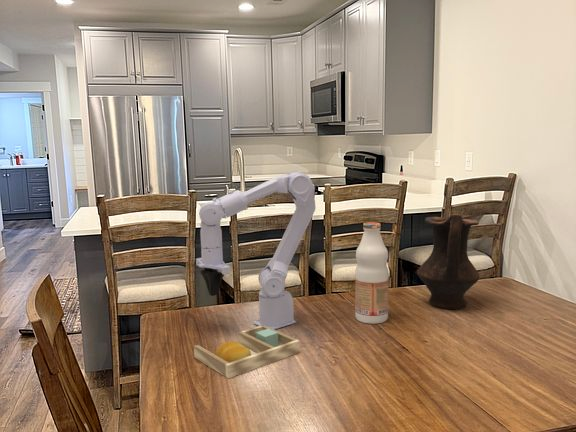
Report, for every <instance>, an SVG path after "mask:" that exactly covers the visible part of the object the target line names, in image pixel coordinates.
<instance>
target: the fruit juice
mask: <svg viewBox="0 0 576 432" xmlns="http://www.w3.org/2000/svg"><path fill="white" fill-rule="evenodd" d="M362 227H363V234H362V237H361V239H360V242H359V244H358V246H357V248H356V251H355V260H356V262H357V263H356V268H355V275H354V277H355V278H354V279H355V281H354V282H355V283H354V285H355V289H354V291H355V292H354V294H355V296H354V297H355V300H354V301H355V302H354V303H355V304H354V305H355V306H354V308H355V310H354V311H355V313H354V314H355V319H356V320H357V321H359V322H361V323H363V324H368V325H369V324H372V325H373V324H374V325H375V324H383V323H385V322H387V320H388V319H389V269H388V266H387V262H388V260H389V259H388V258H389V251H388V249H387V247H386V246H385V243H384V240H383V237H382V235H381V232H380V231H381V228H382V227H381V223H380V222H373V221H371V222H363V225H362Z"/></svg>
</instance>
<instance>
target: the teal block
mask: <svg viewBox="0 0 576 432" xmlns="http://www.w3.org/2000/svg"><path fill="white" fill-rule="evenodd" d="M256 339H259V340H261V341H263V342H265V343H267V344H269V345H271V346H273V347H277V346H279V345H278V333H277V332H275V331H273V330H270V329H266V330H262V331H259V332H256Z"/></svg>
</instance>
